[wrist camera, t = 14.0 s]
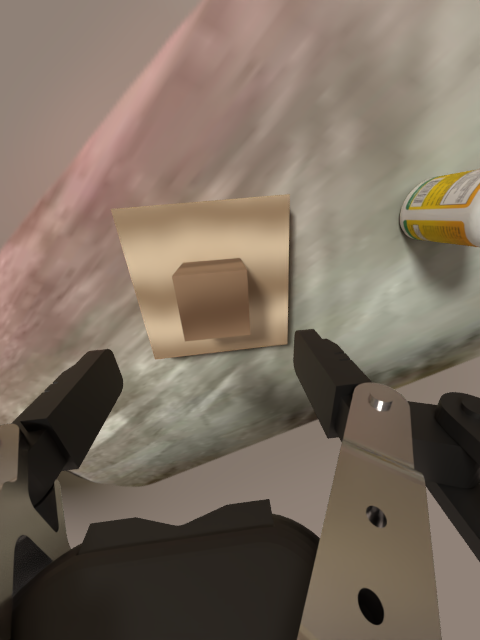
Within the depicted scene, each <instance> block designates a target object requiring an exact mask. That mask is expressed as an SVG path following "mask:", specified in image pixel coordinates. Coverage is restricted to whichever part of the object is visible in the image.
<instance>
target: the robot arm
mask: <svg viewBox="0 0 480 640" xmlns="http://www.w3.org/2000/svg"><path fill="white" fill-rule="evenodd" d="M293 362H294V369H295V372H296V375H297V377H298V379H299V381H300V383H301V385H302V387H303V389H304V391H305V393H306V395H307V397H308V399H309V401H310V403H311V405H312V407H313V409H314V411H315V413H316V415H317V417H318V419H319V421H320V424H321V426H322V428H323V430H324V432H325V434H326V436H327V438H336V437H339V438H340V440H341V442H342V445H341V449H340V453H339V457H338V462H337V466H336V471H335V475H334V480H333V484H332V488H331V493H330V497H329V502H328V506H327V510H326V514H325V519H324V523H323V528H322V532H321V537H320V538H319V537H318V536H317V535H315V534H314V533H313V532H312V531H310V530H309V529H307V528H306V527H304V526H303V525H301V524H299V523H297V522H295V521H294V520H292V519H289V518H286V517H284V516H281V515H276V514H272V512H271V507H270V500H269V499H266V500H259V501H251V502H244V503H237V504H230V505H226V506H223V507H221V508H219V509H217V510H215V511H212V512H210V513H208V514H206V515H204V516H202V517H199V518H197V519H195V520H193V521H191V522H189V523H187V524H184V525H181V526H174V525H169V524H165V523H160V522H155V521H150V520H146V519H141V518H136V517H135V518H128V519H121V520H114V521H106V522H100V523H92V524H90V526H89V528H88V531H87V533H86V536H85V538H84V540H83V543H82V544H80V545H78V546H76V547H74V548H73V549H71V548H70V546H69V543H68V539H67V534H66V527H65V519H64V511H63V503H62V496H61V488H60V483H59V482H58V480H57V477H58V475H59V474H60V472H61V471H65V470H73V469H79V467H80V465H81V464H82V462H83V460H84V458H85V456H86V455H87V453H88V451H89V449H90V447H91V446H92V444H93V442H94V440H95V438H96V437H97V435H98V433H99V431H100V430H101V428H102V426H103V424H104V422H105V421H106V419H107V417H108V415H109V413H110V412H111V410H112V408H113V406H114V405H115V403H116V401H117V399H118V397H119V396H120V394H121V392H122V389H123V378H122V375H121V373H120V370H119V367H118V365H117V362H116V359H115V357H114V354H113V352H112V351H111V350H109V349H104V350H94V351H89V352H87V353H86V354H85V355H84V356H83V357H82V358H81V359H80V360H79V361H78V362H77V363H76V364H75V365H74V366H72V367H71V368H69V369H68V370H66V371H64V372H63V373H62V374H61V375H60V376H59V377H58V378H57V379H56V380H55V381H54V382H53V384H51V385H50V386H49V387H48V388H47V389H46V390H45V392H44V393H42V394H41V395H40V396H39V397H38V398H37V399H36V400H35V401H34V402H33V403H32V404H31V405H30V406H29V407H27V408H26V409H25V410H24V411H23V412H22V413H21V414H20V415H19V416H18V417H17V418H16V419H15V420H14V421H13V422H12V423H11V424H3V425H0V640H442V637H441V629H440V628H441V627H440V619H439V609H438V599H437V589H436V580H435V571H434V561H433V551H432V543H431V532H430V523H429V513H428V504H427V495H426V487H427V488H428V490H429V491H430V493H431V494H432V495H433V497H434V498H435V500H436V501H437V502H438V504H439V505H440V506H441V508H442V509H443V511H444V512H445V514H446V515H447V516H448V518H449V519H450V521H451V522H452V523H453V525H454V526H455V528H456V529H457V531H458V532H459V533H460V535H461V536H462V537H463V539H464V540H465V542H466V543H467V545H468V546H469V548H470V549H471V550H472V552H473V553H474V554H475V556H476V557H477V559H478V560H479V562H480V398H478V397H475V396H472V395H468V394H464V393H456V392H450V393H446V394H444V395H442V396H441V398H440V400H439V403H438V405H432V404H424V403H417V402H409V401H407V400H406V399H405V398H404V397H403V396H402V395H401V394H400V393H398V392H397V391H396V390H394V389H392V388H390V387H388V386H385V385H382V384H378V383H372V382H371V381H370V379H369V378H368V377H367V376H366V375H365V374H364V373H363V372H362V371H361V370H360V369H359V368H358V366H357V365H356V364H355V363H354V362H353V361H352V360H350V358H349V357H348V356H347V355H346V353H345V354H344V351H343V350H342V349H341V348H340V347H339V346H338V345H337V344H335V343H334V342H332V341H330V340H328V339H322V338H321V337H320V336H319V335H318V333H317V332H316V331H315V330H314V329H308V330H298V331H296V332H295V337H294V358H293Z"/></svg>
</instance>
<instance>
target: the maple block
mask: <svg viewBox="0 0 480 640" xmlns="http://www.w3.org/2000/svg"><path fill="white" fill-rule="evenodd" d="M289 206H290V194H287V195H275V196H263V197H251V198H239V199H227V200H215V201H203V202H191V203H179V204H167V205H155V206H143V207H131V208H119V209H111V212H112V215H113V218H114V222H115V225H116V229H117V232H118V235H119V239H120V242H121V245H122V249H123V252H124V256H125V259H126V262H127V266H128V269H129V272H130V276H131V279H132V283H133V286H134V289H135V293H136V296H137V299H138V303H139V306H140V310H141V313H142V316H143V320H144V323H145V327H146V330H147V333H148V337H149V340H150V343H151V347H152V350H153V354H154V357H155V359H163V358H172V357H180V356H189V355H198V354H206V353H215V352H223V351H232V350H240V349H249V348H257V347H266V346H274V345H283V344H287V334H288V270H289ZM233 258H240V259H241V260H242V262H243V264H244V265H245V267H246V269H247V278H248V297H249V316H250V335H244V336H234V337H225V338H215V339H205V340H196V341H186V342H185V339H184V334H183V329H182V324H181V319H180V314H179V309H178V304H177V299H176V294H175V289H174V284H173V279H172V275H173V274H174V273H175V272H176V270H177V269H178V268H179V267H180V265H181V264H182V263H185V262H197V261H209V260H221V259H233Z"/></svg>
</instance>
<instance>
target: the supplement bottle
mask: <svg viewBox="0 0 480 640" xmlns="http://www.w3.org/2000/svg"><path fill="white" fill-rule="evenodd" d="M400 225H401V228H402V230H403V231H404V233H405V234H406V235H407V236H408V237H410V238H412V239H416V240H424V241H433V242H441V243H449V244H458V245H465V246H474V247H480V169H478V170H472V171H466V172H461V173H455V174H450V175H444V176H439V177H433V178H430V179H428V180H425V181H424V182H422V183H420V184H419V185H418V186H416V187H415V188H414V189H413V190H412V191H411V192H410V193H409V195H408V196H407V198H406V199H405V201H404V203H403V205H402V208H401V212H400Z"/></svg>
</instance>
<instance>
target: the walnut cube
mask: <svg viewBox="0 0 480 640" xmlns="http://www.w3.org/2000/svg"><path fill="white" fill-rule="evenodd" d="M172 279H173V284H174V289H175V294H176V299H177V304H178V309H179V314H180V319H181V324H182V329H183V334H184V339H185V342H186V341H196V340H205V339H215V338H225V337H234V336H244V335H250V316H249V297H248V278H247V269H246V267H245V265H244V264H243V262H242V260H241V259H240V258H233V259H221V260H209V261H197V262H185V263H182V264H181V265H180V267H179V268H178V269H177V270H176V272H175V273H174V274H173V275H172Z"/></svg>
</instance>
